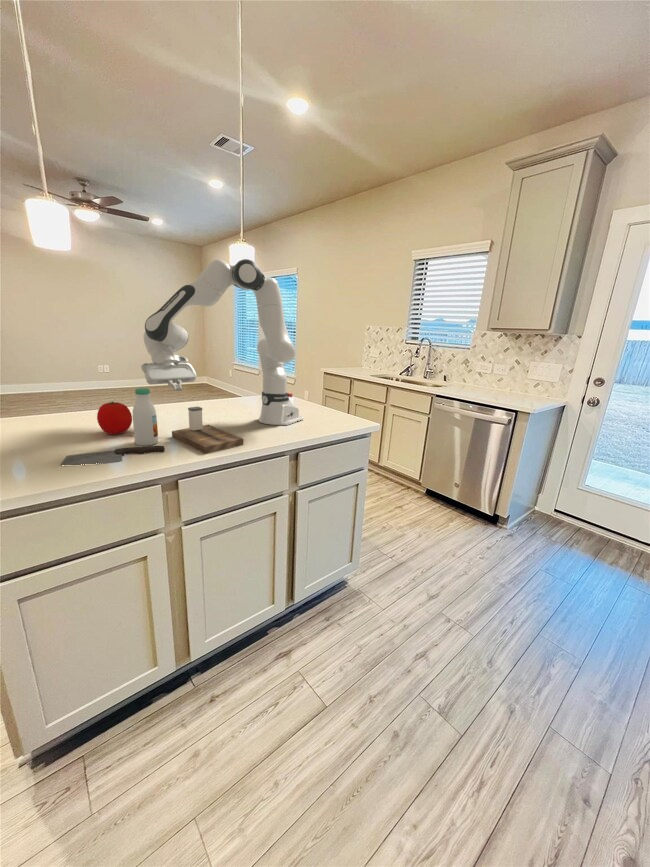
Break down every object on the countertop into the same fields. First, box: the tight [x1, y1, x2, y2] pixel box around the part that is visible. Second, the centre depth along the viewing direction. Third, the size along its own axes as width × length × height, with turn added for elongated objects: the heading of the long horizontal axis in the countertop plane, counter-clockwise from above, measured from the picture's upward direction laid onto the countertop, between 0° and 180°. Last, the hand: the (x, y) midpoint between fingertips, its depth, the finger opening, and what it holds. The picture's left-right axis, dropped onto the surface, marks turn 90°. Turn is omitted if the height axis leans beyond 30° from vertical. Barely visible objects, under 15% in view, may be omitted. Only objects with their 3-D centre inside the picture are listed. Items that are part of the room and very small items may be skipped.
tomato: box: [96, 401, 133, 435], centre depth 136 cm, size 12×12×13 cm
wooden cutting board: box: [171, 424, 244, 455], centre depth 136 cm, size 16×24×2 cm, turn 49°
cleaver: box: [60, 445, 166, 467], centre depth 115 cm, size 29×10×2 cm, turn 120°
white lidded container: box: [187, 406, 204, 431], centre depth 139 cm, size 4×3×9 cm
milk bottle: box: [132, 387, 159, 447], centre depth 127 cm, size 8×8×20 cm
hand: (178, 390), depth 144 cm, fingers closed
